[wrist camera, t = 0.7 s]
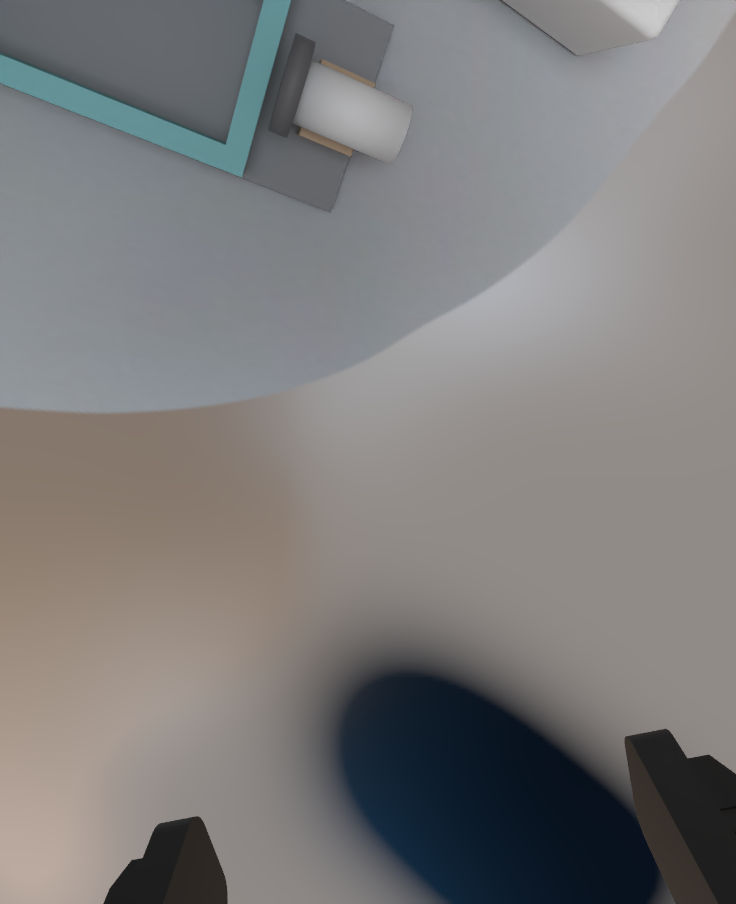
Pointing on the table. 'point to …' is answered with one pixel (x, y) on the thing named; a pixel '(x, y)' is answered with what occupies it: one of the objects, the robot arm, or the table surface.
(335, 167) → the shaft cradle
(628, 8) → the medicine bottle
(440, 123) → the table surface
